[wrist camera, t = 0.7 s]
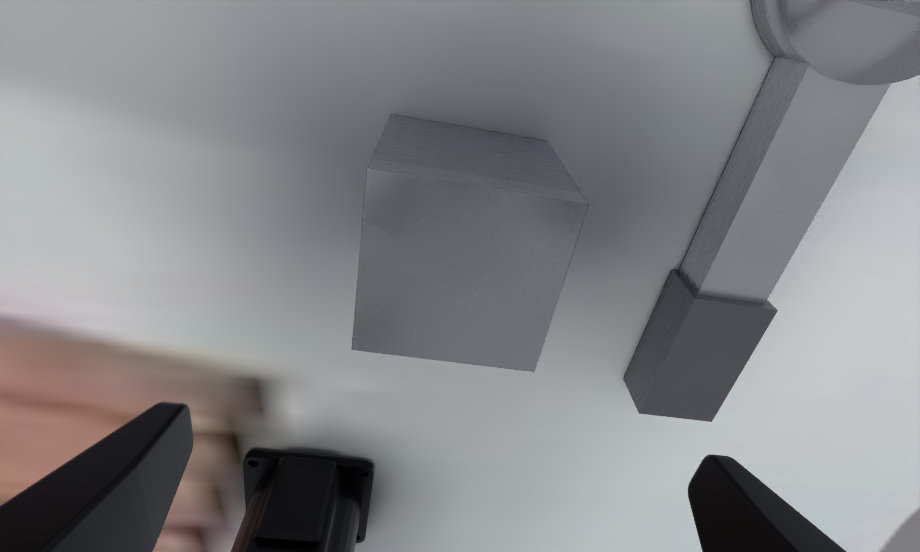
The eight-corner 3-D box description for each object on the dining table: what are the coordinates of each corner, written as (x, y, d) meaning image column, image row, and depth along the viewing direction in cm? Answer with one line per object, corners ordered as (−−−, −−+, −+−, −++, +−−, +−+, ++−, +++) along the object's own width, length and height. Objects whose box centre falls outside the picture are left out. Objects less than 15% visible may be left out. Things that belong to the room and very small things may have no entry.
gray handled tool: (725, 391, 24) (794, 490, 19) (587, 374, 23) (623, 473, 19) (1054, -169, 14) (1374, -252, 9) (826, -232, 13) (1043, -357, 8)
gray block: (512, 274, 21) (534, 371, 15) (376, 255, 20) (351, 349, 15) (547, 141, 18) (588, 203, 13) (390, 114, 17) (366, 168, 12)
